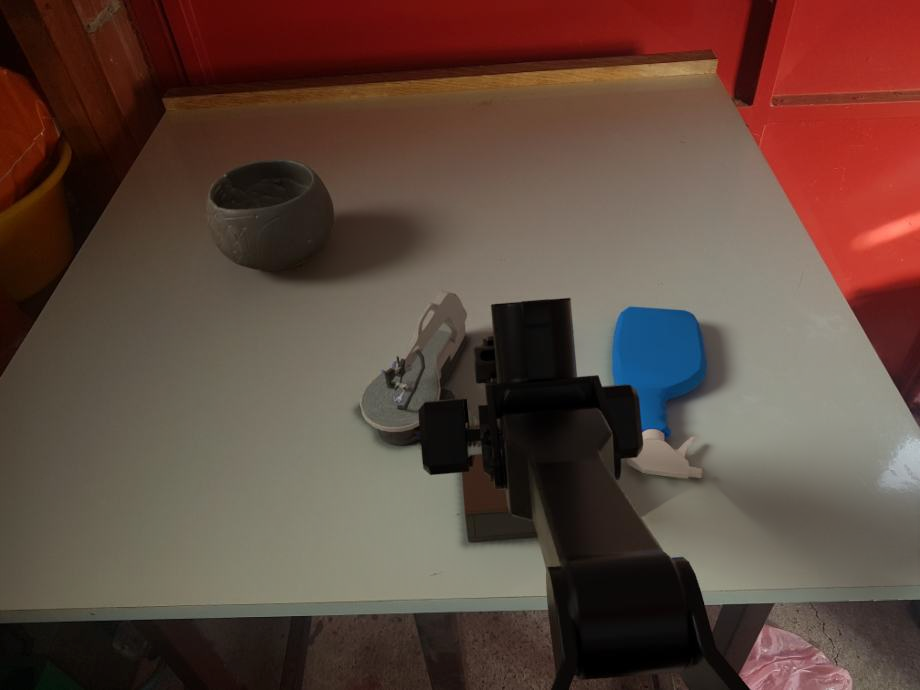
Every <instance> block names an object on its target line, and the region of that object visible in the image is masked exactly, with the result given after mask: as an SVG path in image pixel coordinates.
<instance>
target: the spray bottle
mask: <svg viewBox="0 0 920 690" xmlns="http://www.w3.org/2000/svg"><path fill="white" fill-rule="evenodd" d="M705 348H706V347H705V341H704V336H703V333H702V329H701V325H700V322H699V321H698V319H697V317H696V315H695V314H694V313H692V312H690V311H688V310H685V309H674V308H660V307H659V308H657V307H644V306H631V305H630V306H628V307H626V308H625V309H623V310H622V311H621V312H620V313H619V314H618V317H617V319H616V323H615V328H614V334H613V339H612V351H611V356H612V357H611V365H612V366H611V370H612V371H611V372H612V378H613V385H620V384H628V385H631V386H632V387H633V388H634V389H635V390H636V391H637V393H638V396H639V403H640V414H641V425H642V435H643V448H642V451H641V452H640V454H639V455H638V457H636V458H627V465H628V466H631V468H633V469H635V470H637V471H638V472H640V473H642V474H647V475H655V476H664V477H671V478H679V479H689V478H696V479H697V478H698V479H702V476H703V468H701V467H696V466H691V465H690V462H689V461H688V459H687V458H686V455H687V453H688V450H689V448H690V446H691V444H692V443H693V442H694V441H695V437H694V436H691V437H690V438H688V439H687V440H686V441H685V442H684V443H683V444H682V445H681V446H680V447H679V448H678V449H674V448H673V447H672V446H670V444H669V443H667V442H666V441H665V440H666V439H667V438H668V437H671V436H672V430H671V428H670V427H669V426H668V424H667V420H668V414H667V412H666V409H667V403H666V402H667V401H670V400H673V399H675V398H678V397H681V396H684V395H686V394H688V393H690V392H691V391H693V390H694V389H695V388H697V387H699V386H700V385H701V384H702V382H703V381H704V380H705V378H706V372H707V356H706V349H705Z"/></svg>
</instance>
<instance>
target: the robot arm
mask: <svg viewBox="0 0 920 690" xmlns="http://www.w3.org/2000/svg"><path fill="white" fill-rule="evenodd" d="M490 312H491V313H490V314H491V323H492V324H491V325H492V335H491V336H486V337H485V338H482V345H478V346H477V345H475V346H473V348H472V354H473V366H474V375H475V377H474V378H475V383H476V384H477V385H478V384H479V385H480V384H484V388H485V400H486V404H481V405H479V404H478V405H477V411H478V419H477V417H476V416H475V415H473V414H472V413H471V410H470V405H469V401H468V399H467V398H456V399H448V400H436V401H425V402H424V404H423V405H422V406H421V407H420V408H419V427H420V439H419V440H420V450H421V461H422V467H423V468H422V469H423V470H424V471H425V472H427V474H429V476H435V475H447V474H459V473H461V474H462V472H470V470H469V467H472V466H473V462H474V457H475V455H480V454H482V460H483V472H484V473H485V474H487V475H488V476H489V477H490V480H491V482H492V481H494V488H495V490H502V489H503V490H504V489H505V492H506V499H507V504H508V508H509V512H510V514H512V515H513V516H514V517H518V518H521V519H525V520H529V521H532V522H534V524H535V528H536V532H537V536H536V537H537V539H538V543H539V548H540V551H541V555H542V559H543V562H544V566H545V586H546V587H545V590H546V603H547V615H548V624H549V631H550V638H551V639H550V640H551V649H552V655H553V663H554V670H555V671H554V672H555V678H554V681H553V683H552V686H551V688H550V690H571V688H572V684H573V682H574V680H575V677H576V678H578V679H579V680H580V681H584V680H585V681H586V680H598V679H599V680H600V679H613V678H626V677H627V678H628V677H639V676H640V677H641V676H654V675H655V676H656V675H667V674H669V675H670V674H679V675H680V678H681V680H682V682H683V684H684V685H685V686H686V688H687V689H688V690H752V689H751V688H750V686H748V684H747V683H746V682H745V681H744V679H743V678H742V677H741V676H740V674H738V672H737V671H736V670H735V669H734V668H733V666H731V664H730V663H729V661H727V659H726V658H725V657H724V656H723V655H722V653H721V652H720V651H719V650H718V648H717V646H716V642H715V639H714V635H713V631H712V627H711V623H710V620H709V619H710V618H709V617H708V612H707V609H706V605H705V601H704V597H703V593H702V589H701V587H700V583H699V581H698V577H697V575H696V573H695V571H694V568H693V566H692V565H691V562H690V561H689V560H688V559H686V558H685V557H684V556H674V557H672V556H670V555H669V554H668V553H667V552H666V551H664V550H663V548H662V547H661V545H660V544H659V541H658V540H657V538H656V537H655V536H654V534H653V533H652V531H651V530H650V529H649V527H648V525H647V523H645V520H644V519H643V518H642V516H641V514H640V513H639V512H638V510H637V509H636V507H635V505H634V504H633V502H632V501H631V500H630V498H629V496H628V495H627V494H626V492H625V490H624V489H623V488H622V486H621V485H620V483H619V481H620V479H621V476H622V475H621V474H622V460H623V459H628V458H636V457H638V455H639V454H640V452H641V451H642V448H643V435H642V425H641V414H640V403H639V396H638V393H637V391H636V390H635V389H634V388H633V387H632V386H631V385H628V384H620V385H614V384H610V385H602V382H601V379H600V376H599V375H598V374H595V375H594V374H593V375H582V376H578V371H577V357H576V346H575V345H576V344H575V335H574V333H575V332H574V323H573V311H572V300H571V297H564V298H563V297H562V298H547V299H535V300H522V301H515V302H514V301H513V302H504V303H503V302H502V303H492V304H490ZM497 419H498V423H497ZM478 422H479V424H480V427H479V428H477V424H478ZM477 441H481V443H480V446H479V445H478V443H477Z"/></svg>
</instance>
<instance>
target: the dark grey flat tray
mask: <svg viewBox="0 0 920 690" xmlns="http://www.w3.org/2000/svg"><path fill="white" fill-rule="evenodd" d="M464 518H465V519H464V520H465V526H466V527H465V528H466V537H467V542H468V543H474V542H485V541H487V542H488V541H498V540H508V539H509V540H510V539H522V538H532V537H538V536H537V532H536V528H535V524H534V522H532V521H529V520H525V519H521V518H518V517H514V516H513V515H512V514H510V512H509V511H507V512H495V513H483V514H472V515H465V514H464Z"/></svg>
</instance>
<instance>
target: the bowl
mask: <svg viewBox="0 0 920 690" xmlns="http://www.w3.org/2000/svg"><path fill="white" fill-rule="evenodd" d="M205 219H206V223H207V228H208V233H209V236H210V238H211V240H212V242H213V243H214V246H216V247H217V249H218V251H220V252H221V253H222V255H224V256H225V258H227V259H228V260H230V261H231V262H232V263H234V264H236V265H239V266H241V267H245V268H248V269H250V270H256V271H264V272H265V271H266V272H267V271H269V272H271V271H273V272H276V271H284V270H288V269H291V268H294V267H297V266H299V265H301V264H303V263H305V262H307V261H308V260H310V259H311V258H313V257H314V256H315V255H316V254H317V253H319V251H321V249H322V248H323V247H324V246H325V245H326V243H327V242H328V241H329V238H330V236H331V235H332V232H333V228H334V223H335V210H334V202H333V200H332V196H331V195H330V192H329V190H328V189H327V187H326V185H325V183H324V182H323V180H322V179H321V177H320V176H319V174H317V173H316V172H315V171H314V170H313V169H312V168H311V167H310V166H308V165H307V164H305V163H303V162H301V161H297V160H293V159H288V158H287V159H286V158H269V159H267V158H266V159H261V160H256V161H251V162H248V163H247V162H246V163H243V164H241V165H238V166H235V167H233V168H231V169H229V170H228V171H226V172H225V173H224V174H223V175H220V176H219V177H218V178H217V179H215V180H214V181H213V183H212V184H211V185H210V187H209V190H208V194H207V198H206V204H205Z"/></svg>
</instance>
